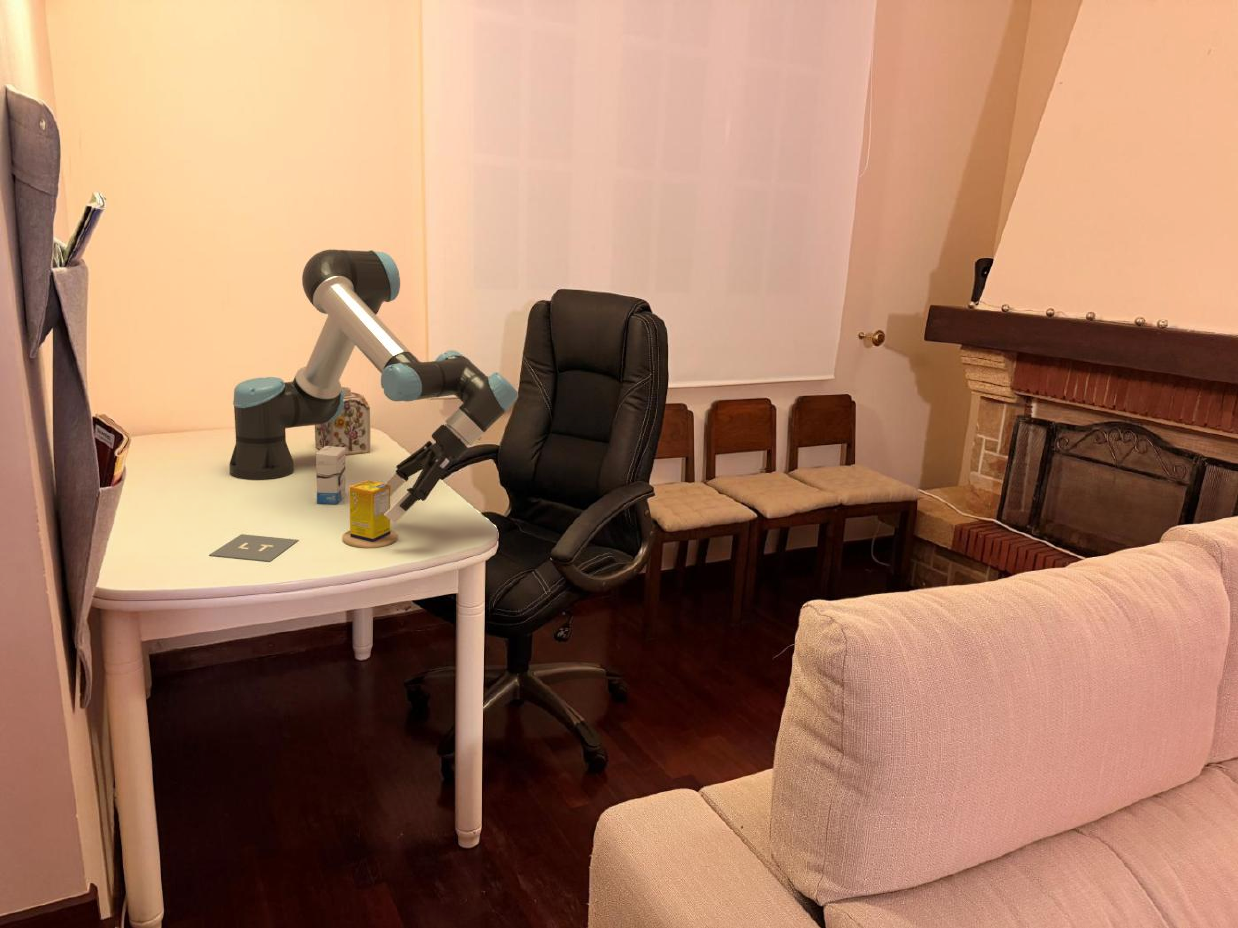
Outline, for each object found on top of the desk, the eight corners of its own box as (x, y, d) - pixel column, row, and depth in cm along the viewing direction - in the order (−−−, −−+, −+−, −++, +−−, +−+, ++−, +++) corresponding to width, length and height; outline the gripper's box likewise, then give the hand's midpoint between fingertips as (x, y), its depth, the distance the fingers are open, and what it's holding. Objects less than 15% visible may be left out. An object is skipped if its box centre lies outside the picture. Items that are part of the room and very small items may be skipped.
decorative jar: (314, 448, 245) (313, 385, 241) (353, 443, 253) (352, 383, 248) (331, 457, 237) (330, 393, 232) (371, 453, 244) (371, 390, 240)
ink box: (338, 505, 198) (337, 455, 195) (315, 504, 198) (314, 454, 195) (346, 494, 206) (346, 446, 203) (325, 493, 206) (324, 445, 203)
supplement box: (367, 529, 182) (367, 479, 180) (391, 534, 180) (391, 484, 177) (349, 537, 177) (348, 486, 174) (373, 542, 175) (372, 491, 172)
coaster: (354, 527, 184) (354, 524, 184) (404, 532, 184) (404, 529, 183) (333, 545, 174) (333, 542, 174) (386, 550, 173) (386, 547, 173)
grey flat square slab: (241, 535, 176) (241, 533, 176) (298, 540, 175) (298, 539, 175) (209, 555, 164) (209, 554, 164) (270, 561, 163) (270, 560, 163)
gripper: (485, 462, 171) (408, 540, 169) (454, 433, 193) (386, 502, 190) (459, 437, 167) (380, 516, 165) (431, 410, 189) (361, 480, 187)
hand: (383, 508), depth 178 cm, fingers open, 13 cm apart
